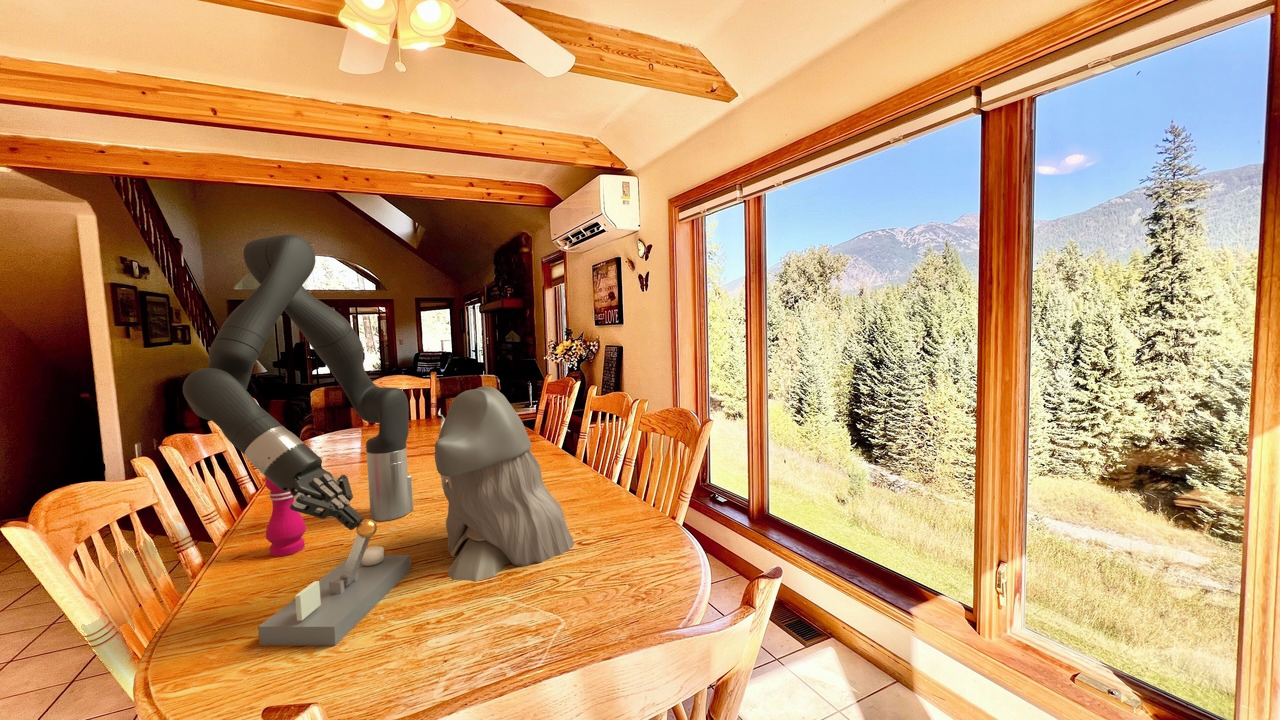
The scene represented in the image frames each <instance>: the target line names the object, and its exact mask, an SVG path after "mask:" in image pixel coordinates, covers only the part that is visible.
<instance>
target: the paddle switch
mask: <svg viewBox="0 0 1280 720" xmlns="http://www.w3.org/2000/svg"><path fill="white" fill-rule="evenodd" d="M294 599H295V600H296V614H297V621H302V620H303V619H304V618H306V617H307V616H308V615H309V614H310V613H312V612H313V611H314V610H315V609H316V608H318V607H319V606H320V605H321V600H320V586H319V580H314V581H312V583H310V584H309V585H308V586H306V587H305V588H303V589H302V590H301V591H300V592H298V593H296V594H295V598H294Z"/></svg>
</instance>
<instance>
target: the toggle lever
mask: <svg viewBox="0 0 1280 720" xmlns="http://www.w3.org/2000/svg"><path fill="white" fill-rule="evenodd" d="M355 529H356V536H355V539H354V542H353V544H352V546H351V550H350V552H349V554H348V557H347V558H346V559H347V562H346V564H345V567H344V570H343V572H342V575H341V577H340V580H344V585H346V586H347V585H349V584H350V583H351V582H352V581H353V580H354V578H355V576H356V573H357V570H358V568H359V565H360V563H361V560H362V558H363V555H364V553H365V550H366V548H368V545H369V542H370V540H371V537H373V536H374V535H375V534H376V533H377V529H378V524H377V522H376V520H373V519H371V518H365V519H363V520H362V521H361V522H360V523H359V524H358V526H357V527H356V528H355Z"/></svg>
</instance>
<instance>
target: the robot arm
mask: <svg viewBox="0 0 1280 720" xmlns="http://www.w3.org/2000/svg"><path fill="white" fill-rule="evenodd" d="M242 254H243V255H242V256H243V260H244V263H245V265H246V267H247V269H248V271H249V273H250V274H251V275H252V276H253V278H255V280H256V281H257V282H258V283H259V286H258V287H257V288H256V289H255V290H254V291H253V292H252V293H251V294H250V295H249V296H248V297H247V298H246V299H245V300H243V301H242V302H241V303H240V304H239V305H238V306H237V307H236V308H235V309H234V310H233V311H232V312H231V313H230V314H229V315H228V317H227V318H226V319H225V320H224V322H223V324H222V325H221V327H220V329H219V330H218V332H217V334H216V336H215V338H214V339H213V342H212V343H211V345H210V348H209V351H208V366H207V367H204V368H203V367H202V368H199V369H196V370H195V371H193V372H191V373H190V374H188V376H187V377H186V378H185V380H184V382H183V385H182V393H183V396H184V398H185V400H186V402H187V403H188V405H189V407H190V408H191V410H192V411H193V413H194V414H195V415H196V416H198V417H200V418H202V419H204V420H206V421H212V422H213V423H214V424H215V425H216V426H217V427H218V428H219V429H220V430H221V432H222V434H223V436H224V437H225V438H226V439H227V440H228V442H230V443H231V444H232V445H233V446H234V447H235V448H236V449H237V450H239V451H240V452H241V453H242V454H243V455H244V456H245V457H246V459H247V460H248V461H249V462H250V463H251V464H252V466H253V467H254V468H256V469H257V471H259V472H260V473H261V474H262V475H263V476H265V478H266V477H267V478H268V479H269V480H270V481H271V482H272V483H273V484H275V485H276V486H277V487H278V488H279V489H280V490H281V491H283V492H288V491H290V493H291V495H292V496H294V502H293V503H292V504H291V505H290V509H291V510H294V511H297V512H299V513H300V514H304V515H308V516H310V517H315V518H317V519H320V520H325V519H326V518H328V517H329V518H335V520H337V521H338V522H339V523H341V525H343V526H344V527H345V528H347V529H348V530H349V531H353V530H354V529H357V526H358V524H359V523H360V522H361V521H362V520H364V518H363V517H362V515H361V514H360V513H359V512H357V510H355V509H354V508H353V507H352V506H351V501H352V499H354V494H353V492H352V488H351V485H350V482H349V478H348V476H347V475H346V474H341V475H340V476H333V474H332V473H331V472H329V471H327V470H325V469H324V468H323V467H322V465H323V459H322V457H320V455H318V454H316V452H315V451H314V450H312V449H311V448H310V447H309V446H308V445H307V444H306V443H304V441H302V440H301V439H300V438H299V437H298V436H297V435H296V434H294V433H293V432H292V431H290V430H288V429H287V428H286V427H285V426H283V425H282V424H281V423H280V422H279V421H278V420H277V419H276V418H275V417H273V416H272V415H271V414H270V413H269V412H267V411H266V410H265V409H264V408H262V407H261V406H260V405H259V404H258V403H257V401H256V400H255V399H254V397H252V395H251V394H250V393H249V392H248V391H247V390H248V387H249V384H250V380H251V376H252V373H253V369H254V365H255V363H256V362H257V360H258V358H259V357H260V355H261V352H262V350H263V348H264V346H265V344H266V342H267V340H268V338H269V336H270V334H271V332H272V330H273V328H274V326H275V325H276V323H277V321H278V320H279V319H280V317H281V315H282V314H283V312H285V313H286V315H287V316H288V317H289V318H290V320H291V321H292V322H293V323H294V325H295V326H296V327H297V329H298V330H299V331H300V332H301V333H302V335H303V336H304V338H305V339H306V341H307V342H308V343H309V345H310V346H311V348H312V349H313V350H314V352H315V353H316V355H317V356H318V357H319V358H320V360H321V361H322V362H323V363H324V365H325V366H326V367H327V368H328V370H329V371H330V373H331V374H332V375H333V377H334V378H335V380H336V381H337V383H338V384H339V385H340V387H341V388H342V390H343V391H344V393H345V395H346V396H347V399H348V400H349V402H350V404H351V405H352V407H353V409H354V411H355V412H356V414H357V415H358V416H359V417H360V419H362V420H363V421H365V422H367V423H370V424H379V428H378V429H379V430H378V434H377V435H375V436H373V437H370V438H369V439H367V440H366V444H365V448H366V450H365V451H366V463H367V464H366V465H367V466H366V467H367V481H368V482H367V483H368V499H369V512H370V519H372V520H374V521H378V522H379V521H380V522H381V521H392V520H396V519H399V518H402V517H405V516H406V515H408V514H409V513H410V512H412V511H414V499H413V496H414V495H413V480H412V478H413V477H412V475H411V474H409V473H408V454H407V440H408V438H409V437H408V436H409V433H410V432H409V431H410V427H409V426H410V425H409V424H410V423H409V421H410V419H409V417H410V414H409V410H410V409H409V401H408V397H407V395H406V393H405V391H403V390H402V389H400V388H398V387H388V386H387V387H384V386H383V387H381V386H377V385H376V384H375V382H373V380H372V379H371V378H370V377H369V374H367V371H366V370H365V367H364V347H363V343H362V340H361V338H360V337H359V336H358V334H357V333H356V331H355V330H354V328H353V327H352V325H351V324H350V322H349V321H348V319H346V318H345V317H344V316H343V315H342V314H340V313H339V312H338V311H336V309H333V308H332V307H330V306H329V305H327V304H326V303H324V302H323V301H321V300H319V299H318V298H316V297H315V296H314V295H312V294H311V293H310V292H309V291H308V290H307V289H306V288H305V287H304V286H303V285H304V284H305V283H306V282H307V280H308V278H309V277H310V275H311V274H312V273H313V271H314V269H315V265H316V254H315V250H314V249H313V246H312V245H311V244H310V243H309V241H308V240H307V239H305V238H304V237H303V236H301V235H297V234H292V233H291V234H287V233H286V234H278V235H272V236H268V237H261V238H257V239H253V240H250V241H249V242H247V243H246V244H245V246H244V248H243V253H242Z"/></svg>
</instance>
